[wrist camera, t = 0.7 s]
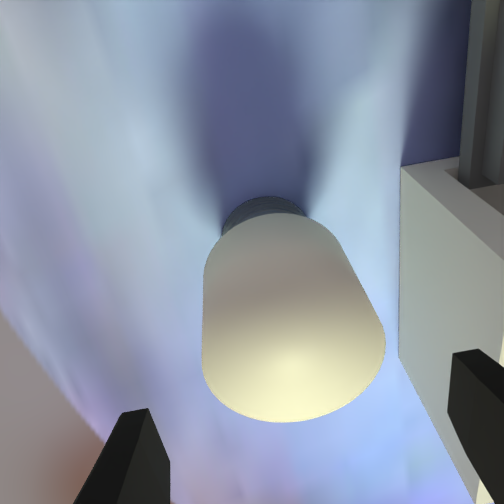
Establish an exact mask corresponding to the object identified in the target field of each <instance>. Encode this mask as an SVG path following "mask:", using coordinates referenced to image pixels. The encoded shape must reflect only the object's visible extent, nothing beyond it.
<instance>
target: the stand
mask: <svg viewBox="0 0 504 504" xmlns="http://www.w3.org/2000/svg"><path fill="white" fill-rule="evenodd" d="M273 213H288V214H296V215H300V216H304V217H306V216H305V215H304V213H303V212H302V211H301V210H300V209H299V208H298V207H297V206H296V205H294V204H293V203H291V202H289V201H287V200H285V199H282V198H278V197H259V198H255V199H252V200H249V201H247V202H245V203H243V204H242V205H240V206H239V207H237V208H236V209H235V210H234V211H233V212H232V213H231V214H230V216H229V217H228V219H227V220H226V222H225V225H224V227H223V231H222V236H223V235H224V234H226V233H227V232H228V231H229V230H230V229H232V228H233V227H235V226H236V225H238V224H240V223H242V222H244V221H246V220H248V219H251V218H254V217H257V216H261V215H265V214H273Z"/></svg>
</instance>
